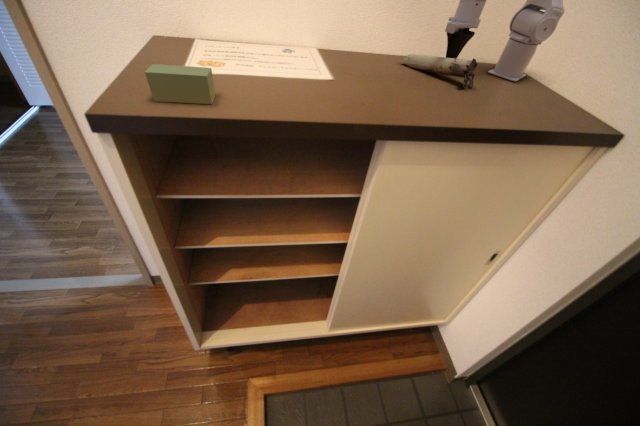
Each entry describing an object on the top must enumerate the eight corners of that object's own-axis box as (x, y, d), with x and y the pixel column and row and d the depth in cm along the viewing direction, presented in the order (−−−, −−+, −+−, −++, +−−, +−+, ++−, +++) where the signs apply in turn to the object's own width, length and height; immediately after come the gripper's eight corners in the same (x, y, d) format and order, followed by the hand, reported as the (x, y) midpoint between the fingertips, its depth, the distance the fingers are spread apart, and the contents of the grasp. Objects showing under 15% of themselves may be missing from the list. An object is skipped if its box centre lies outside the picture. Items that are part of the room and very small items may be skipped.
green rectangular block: (160, 92, 53) (152, 63, 50) (215, 95, 55) (211, 67, 51) (153, 101, 51) (144, 71, 47) (211, 104, 52) (206, 76, 48)
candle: (461, 91, 69) (473, 63, 65) (401, 63, 80) (408, 38, 75) (474, 87, 72) (487, 60, 68) (415, 61, 83) (422, 36, 78)
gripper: (470, -6, 72) (448, 53, 82) (443, -4, 65) (423, 60, 74) (498, 0, 69) (471, 60, 79) (473, 2, 61) (447, 69, 71)
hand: (449, 61), depth 76 cm, fingers closed
